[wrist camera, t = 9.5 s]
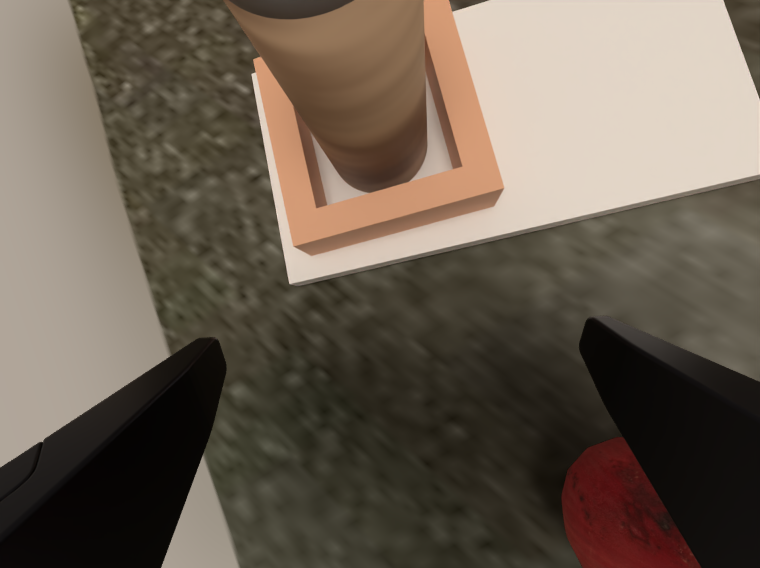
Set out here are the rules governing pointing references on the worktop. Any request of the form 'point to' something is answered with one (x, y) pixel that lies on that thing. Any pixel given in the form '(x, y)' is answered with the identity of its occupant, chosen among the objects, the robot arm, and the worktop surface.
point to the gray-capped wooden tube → (350, 79)
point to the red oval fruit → (619, 513)
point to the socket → (401, 202)
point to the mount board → (572, 122)
